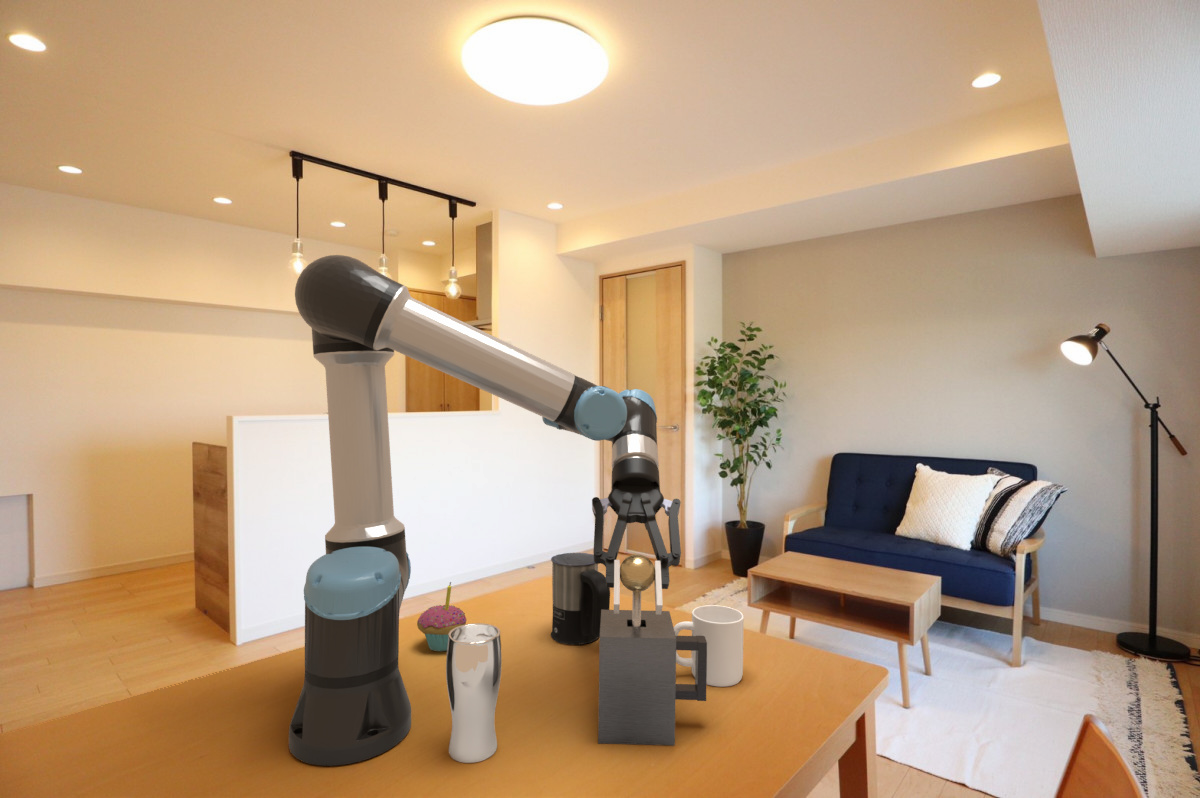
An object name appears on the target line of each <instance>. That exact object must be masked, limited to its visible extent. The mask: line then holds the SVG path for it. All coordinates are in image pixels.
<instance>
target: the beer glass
mask: <svg viewBox="0 0 1200 798" xmlns="http://www.w3.org/2000/svg"><path fill="white" fill-rule="evenodd" d="M445 661H446V663H445V677H446V688H447V694H448V701H449V707H450V712H451V713H450V714H451V721H452V722H451V723H452V724H451V733H450V734H451V735H450V740H449V746H448V754H449V756H450V757H451V758H452V759H453V760H454V761H456V762H459V763H463V764H474V763H479V762H482V761H485V760H487V759H489V758H491V757H492V756H493V755H494V754H495V753H496V751H497V748H498V739H497V733H496V727H495V713H496V706H497V701H498V697H499V691H500V685H501V677H502V667H503V665H502V661H503V660H502V642H501V629H500V628H499V627H498V626H496V625H494V624H489V623H485V622H484V623H482V622H481V623H480V622H475V623H473V622H472V623H466V624H465V625H461V626H458V627H456V628H454V629H452V630H451V631H450V632H449V634H448V646H447V651H446V659H445Z"/></svg>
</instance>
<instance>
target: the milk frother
mask: <svg viewBox="0 0 1200 798" xmlns="http://www.w3.org/2000/svg"><path fill="white" fill-rule="evenodd" d="M550 561H551V562H552V565H551V566H552V576H551V577H552V581H551V582H552V620H551V623H552V625H551V626H552V627H551V632H550V638H551V639H552V640H553V641H555V642H557V643H559V644H564V645H570V646H571V645H573V646H574V645H577V646H578V645H586V644H590V643H593V642H595V641H597V640H598V638H600V623H601V610H610V603H611V589H610V588H607V586H606V575H604V574H603V573H602V572H600V571H599V564H596V563H595V562H594V553H593V554H591V553H587V552H565V553H560V554H559V553H558V554H556V555H553V556H552V557H551V558H550Z"/></svg>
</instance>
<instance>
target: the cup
mask: <svg viewBox="0 0 1200 798" xmlns="http://www.w3.org/2000/svg"><path fill="white" fill-rule="evenodd" d="M744 620H745V619H744V614H743V613H742V612H741V611H740V610H739V609H736V608H733V607H729V606H726V605H725V606H724V605H719V604H708V605H700V606H697V607H695V608H694V609H693V610H691V621H688V620H687V621H680V622H677V623H676V624H675V625H673V628H674V631H675V635H676V636H679V633H680V632H681V631H682V630H688V631H691V636H705V639H706V641H707V680H706V686H711V687H717V688H718V687H719V688H721V687H722V688H724V687H725V688H727V687H732V686H735V685H737V684H739V683H740V682H741V680H742V678H743V673H744ZM690 652H691V653H690V654H691V657H681V656H680V655H679V654H678V650H676V664H678V665H680V666H682V667H686V668H687V667H688V668H690V667H691V673H692V676H693V677H694V678H695V660H696V651H692V650H690Z"/></svg>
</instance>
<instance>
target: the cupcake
mask: <svg viewBox="0 0 1200 798" xmlns="http://www.w3.org/2000/svg"><path fill="white" fill-rule="evenodd" d="M451 592H452V582H451V581H450V582H449V585H447V589H446V597H445V604H443V605H441V604H439V605H434V606H431V607H428V608H427V610H425V611H423V612H422V613H421V614H420V615H419V617H418V619H417V621H416V625H417V626H416V627H417V628H418V630H419V631H420V632H421V633H422V634H424V637H425V639H426V642H427V645H428V646H427V647H428V648H429V649H430V650H431V651H434V652H447V646H448V634H449V632H450V631H451V630H452V629H454V628H456V627H458V626H461V625H466V624H467V617H466V613H465V612H464V611H463V610H462V609H461V608H460V607H457V606H455V605H450V599H451V594H452V593H451Z"/></svg>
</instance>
